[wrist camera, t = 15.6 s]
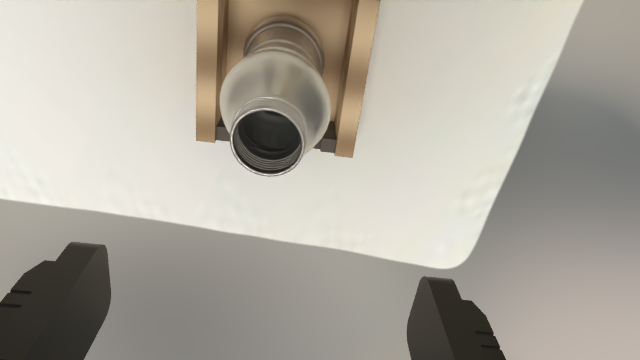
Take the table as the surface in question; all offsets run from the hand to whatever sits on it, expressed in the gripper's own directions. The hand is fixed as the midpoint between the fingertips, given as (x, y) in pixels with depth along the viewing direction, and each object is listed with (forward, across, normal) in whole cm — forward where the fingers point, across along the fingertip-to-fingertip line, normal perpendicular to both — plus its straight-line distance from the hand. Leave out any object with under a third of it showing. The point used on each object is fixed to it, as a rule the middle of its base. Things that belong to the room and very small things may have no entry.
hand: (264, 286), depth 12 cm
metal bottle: (+32, +1, +1) cm, 32 cm away
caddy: (+32, +1, +1) cm, 32 cm away
